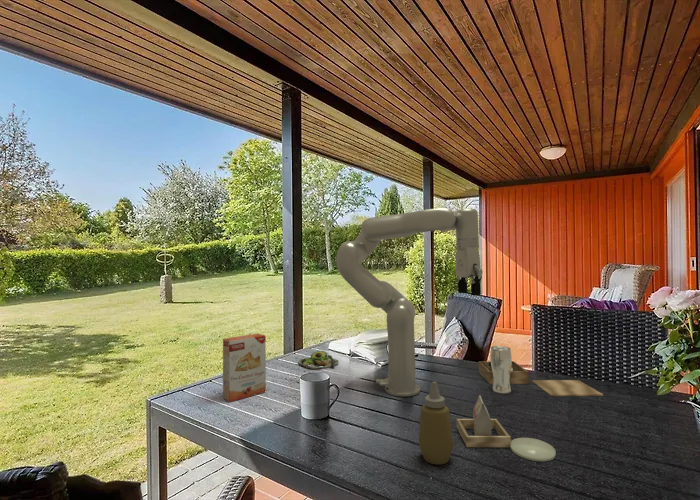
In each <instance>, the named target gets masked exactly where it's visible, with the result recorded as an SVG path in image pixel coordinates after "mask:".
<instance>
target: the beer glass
mask: <svg viewBox="0 0 700 500" xmlns="http://www.w3.org/2000/svg"><path fill="white" fill-rule="evenodd" d="M512 360H513V359H512V348H511V347H509V346H504V345H493V346H491V347H490V361H491V367H492V372H493V378H494V384H492V390H493V392H494V393H498V394H504V395H505V394H510V393H511V392H512V389H511V384H510V373H511V366H512Z"/></svg>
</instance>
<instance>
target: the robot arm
mask: <svg viewBox="0 0 700 500" xmlns="http://www.w3.org/2000/svg"><path fill="white" fill-rule="evenodd" d="M435 231H439V232H449V231H455V244H456V245H455V246H456V247H455V248H456V252H455V276H456V277H457V279H456V281H457V289H458V291H457V292H458V293H459V294H466V293H468V281H467V279H468V278H469V279H470V281H471V282H470V295H471V296H481V294H482V290H481V289H482V288H481V287H482V286H481V284H482V278H483V272H484V271H483V269H482V267H481V259H480V251H479V249H480V244H479V243H480V240H479V239H480V238H479V213H478V210H477V209H475V208H461V209H460V208H459V209H458V210H455V211H453V210H452V209H450V208H448V207H438V208H437V207H435V208H429V209H422V210H416V211H410V212H404V213H398V214H397V213H396V214H390V215H389V214H388V215H383V216H382V215H381V216H375V217H374V216H373V217H369V218H366V219H364V220H363V222H362V223H361V226H360V233H359V234H358V235H357V237H355V239H354V240H353V241H351V240H350V241H346V242H344V243H342V244H341V245H340V246H339V248H338V250H337V253H336V258H335V259H336V267H337V269H338V272H339V274H340V276H341V277H342V278H343V280H344V281H345V282H347V284H348V285H349V286H351V288H353V289H354V291H356V293H358V295H360V296H361V297H363V299H364V300H366V302H367V303H369V304H370V306H372V307H373V308H376V309H381V310H382V311H384V312H385V313H386V330H387V331H386V332H387V351H388V352H387V353H388V354H387V355H388V375H387V377H385V378H376V380H375V381H376V385H379V386H380V387H383V386H384V392H385V393H387V394H389V395H390V396H393V397H394V396H395V397H401V398H402V397H403V398H406V397H414V396H417V395H418V394H420V392H421V387H420V386H419V385H418V384H417V382H416V380H417V379H416V377H417V376H416V349H415V348H416V342H415V340H416V339H415V317H416V308H415V306H414V304H413V303H412V302H411V301H410V300H409V299H408V298H407V297H405V296H404V295H403V294H402V293H401V292H400V291H399V290H397V289H396V288H395V287H394V286H393V285H392V284H390V283H389V282H387V281H385V280H379V279H378V278H377V277H376V276H375V275H373V274H372V273H371V271H369V269H367V268H366V267H365V266H364V265H362V262H364V261H365V260H366V259H367V258H368V257H369V256H370V255H371V253H372V252H373V251H374V250H375V249H376V248H377V247H378V245H379V244H380V243H381V242H382V241H383V240H390V239H398V238H407V237H410V236H413V235H416V234H420V233H427V232H435Z"/></svg>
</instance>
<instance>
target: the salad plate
mask: <svg viewBox="0 0 700 500" xmlns="http://www.w3.org/2000/svg"><path fill="white" fill-rule="evenodd" d="M339 360H340V359H336V358H333V356H332V355H330V354H327V352H326V351H324V350H317V351H314V352H313V353H312V354H311V355H310V357H307V358H306V357H305V358H301V359H299V360H298V365H299V366H300V365H301V366H300V367H303V366H304V367H303V368H305V367H306V369H309V368H310V369H309V370H316V369H317V370H323V369H322V368H326V369H328V368H327V367H330V368H333V367H336V365H338V364H339V363H340V362H339ZM308 365H319V366H323V367H319V366H308ZM332 366H333V367H332Z"/></svg>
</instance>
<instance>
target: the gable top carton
mask: <svg viewBox="0 0 700 500" xmlns="http://www.w3.org/2000/svg"><path fill="white" fill-rule="evenodd" d="M472 413H473V418H472V419H473V420H474V429H473V433H474V436H493V435H492V429H491V419H492V418H491V417H490V413H489V411H488V408H487V407H486V405H485V403H484V402H483V398H482V396H481V394H478V397H477V401H476V402H475V405H474V407H473V410H472Z"/></svg>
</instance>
